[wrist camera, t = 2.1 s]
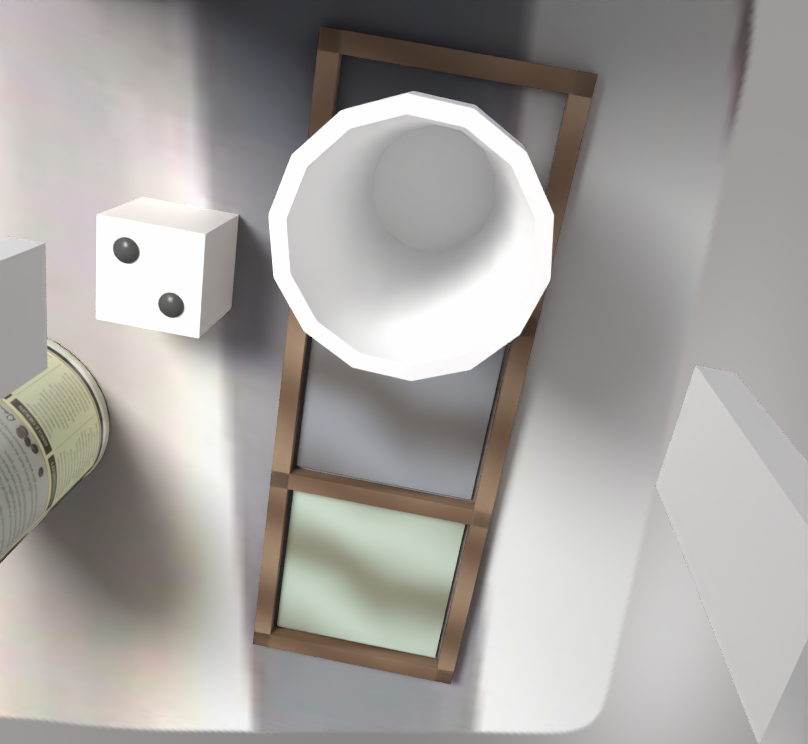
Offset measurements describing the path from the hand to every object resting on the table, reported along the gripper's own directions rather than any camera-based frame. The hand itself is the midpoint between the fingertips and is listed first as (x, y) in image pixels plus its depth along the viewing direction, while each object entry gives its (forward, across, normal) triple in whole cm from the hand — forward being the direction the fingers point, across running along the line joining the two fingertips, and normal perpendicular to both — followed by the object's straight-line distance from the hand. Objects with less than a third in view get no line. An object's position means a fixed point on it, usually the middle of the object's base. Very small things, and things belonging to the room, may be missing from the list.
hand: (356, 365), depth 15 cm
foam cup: (+24, 0, 0) cm, 24 cm away
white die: (+24, -12, -5) cm, 27 cm away
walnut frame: (+24, 0, -11) cm, 26 cm away
